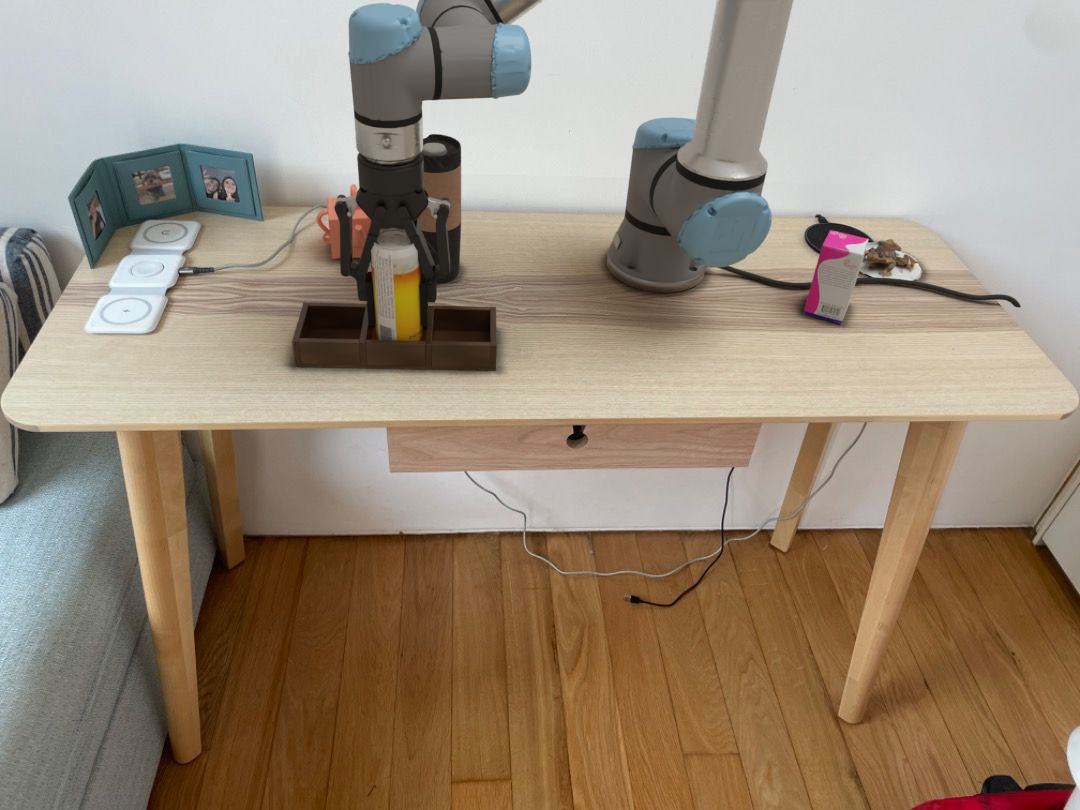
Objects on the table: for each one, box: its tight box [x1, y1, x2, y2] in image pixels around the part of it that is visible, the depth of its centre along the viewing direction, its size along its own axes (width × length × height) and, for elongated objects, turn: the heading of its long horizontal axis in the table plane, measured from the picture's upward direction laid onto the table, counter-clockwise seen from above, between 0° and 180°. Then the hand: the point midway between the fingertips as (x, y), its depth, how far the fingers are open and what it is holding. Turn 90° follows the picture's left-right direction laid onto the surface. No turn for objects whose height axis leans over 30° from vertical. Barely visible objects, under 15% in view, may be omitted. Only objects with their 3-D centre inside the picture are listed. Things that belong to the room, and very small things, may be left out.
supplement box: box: [803, 229, 870, 325], centre depth 131 cm, size 6×6×12 cm
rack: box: [291, 301, 498, 372], centre depth 119 cm, size 26×9×4 cm, turn 93°
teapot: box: [316, 183, 382, 259], centre depth 137 cm, size 12×15×8 cm
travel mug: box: [418, 133, 462, 285], centre depth 130 cm, size 8×8×20 cm
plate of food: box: [859, 238, 923, 281], centre depth 145 cm, size 12×12×4 cm
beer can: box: [370, 228, 423, 341], centre depth 115 cm, size 6×6×15 cm
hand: (398, 320), depth 118 cm, fingers closed on beer can, 6 cm apart
